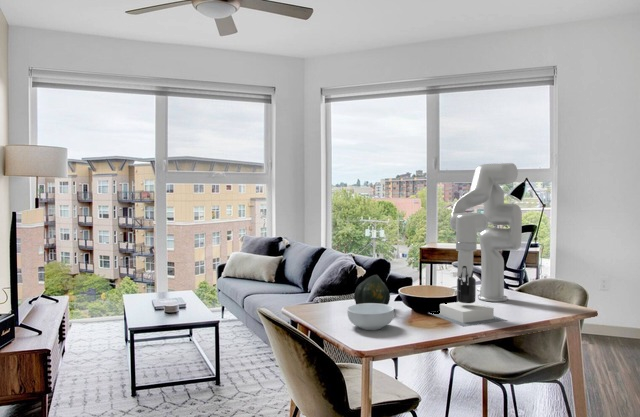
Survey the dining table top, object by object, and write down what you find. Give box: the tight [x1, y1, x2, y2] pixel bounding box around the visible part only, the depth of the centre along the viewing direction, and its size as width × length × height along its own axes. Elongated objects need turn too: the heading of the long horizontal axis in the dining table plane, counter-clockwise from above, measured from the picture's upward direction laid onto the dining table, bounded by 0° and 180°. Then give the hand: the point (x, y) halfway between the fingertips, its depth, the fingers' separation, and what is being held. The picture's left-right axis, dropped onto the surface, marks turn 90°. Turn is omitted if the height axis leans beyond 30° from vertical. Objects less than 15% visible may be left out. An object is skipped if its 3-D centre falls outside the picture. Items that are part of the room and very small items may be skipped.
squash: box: [353, 274, 391, 305], centre depth 209 cm, size 14×15×15 cm
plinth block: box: [439, 301, 495, 323], centre depth 194 cm, size 14×14×4 cm
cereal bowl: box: [347, 303, 395, 331], centre depth 183 cm, size 17×17×7 cm
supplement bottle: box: [456, 270, 477, 303], centre depth 194 cm, size 7×7×12 cm
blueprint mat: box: [428, 312, 508, 327], centre depth 195 cm, size 22×20×1 cm
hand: (466, 293), depth 194 cm, fingers closed on supplement bottle, 6 cm apart
